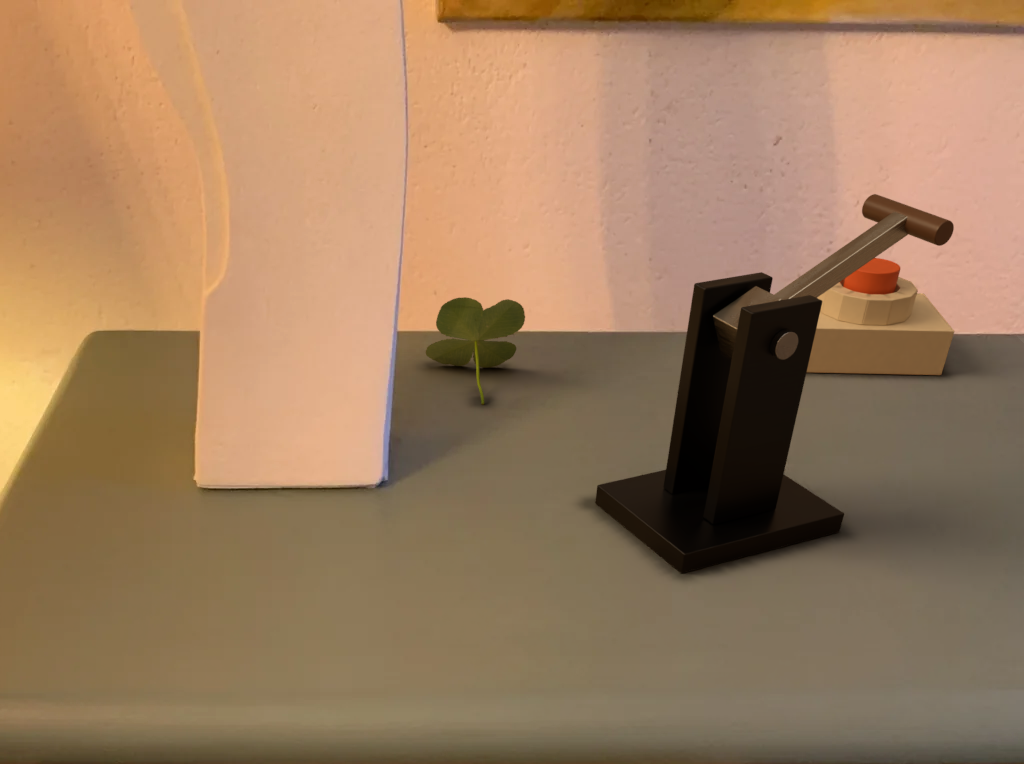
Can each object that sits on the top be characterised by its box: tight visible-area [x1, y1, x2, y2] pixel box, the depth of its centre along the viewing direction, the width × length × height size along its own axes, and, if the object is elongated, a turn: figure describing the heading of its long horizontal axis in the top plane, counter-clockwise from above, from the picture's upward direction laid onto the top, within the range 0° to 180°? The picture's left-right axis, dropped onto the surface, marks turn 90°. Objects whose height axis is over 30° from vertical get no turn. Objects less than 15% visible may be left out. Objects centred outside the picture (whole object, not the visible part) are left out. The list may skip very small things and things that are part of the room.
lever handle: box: [713, 193, 955, 360], centre depth 60 cm, size 12×6×2 cm, turn 116°
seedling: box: [425, 296, 526, 406], centre depth 81 cm, size 7×8×7 cm
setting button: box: [843, 257, 901, 295], centre depth 83 cm, size 4×4×2 cm
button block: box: [806, 276, 955, 376], centre depth 85 cm, size 11×8×5 cm
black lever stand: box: [595, 271, 845, 574], centre depth 63 cm, size 11×9×13 cm
